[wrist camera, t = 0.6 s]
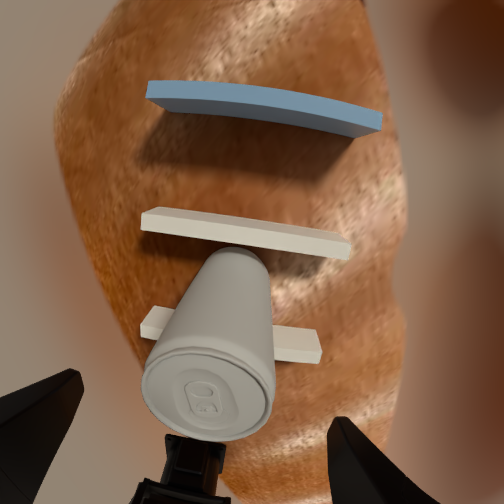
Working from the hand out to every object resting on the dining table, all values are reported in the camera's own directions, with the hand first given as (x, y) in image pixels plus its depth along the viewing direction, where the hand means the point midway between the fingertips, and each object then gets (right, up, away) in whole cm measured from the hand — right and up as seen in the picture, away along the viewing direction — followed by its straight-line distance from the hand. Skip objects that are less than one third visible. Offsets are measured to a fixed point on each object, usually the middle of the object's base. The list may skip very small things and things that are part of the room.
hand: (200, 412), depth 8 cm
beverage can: (+1, +3, +12) cm, 13 cm away
